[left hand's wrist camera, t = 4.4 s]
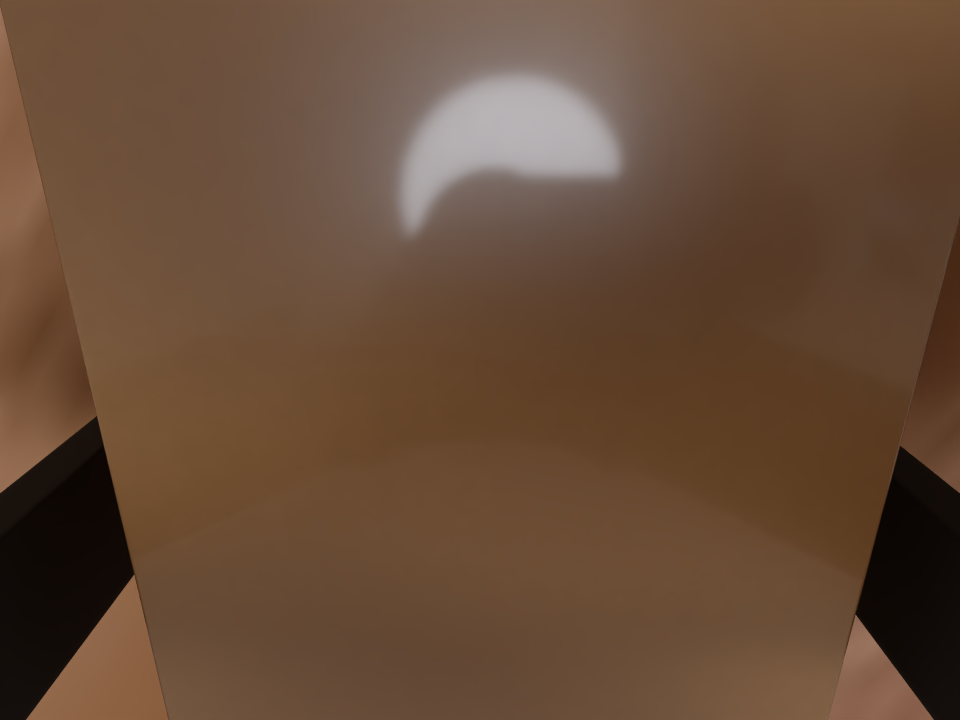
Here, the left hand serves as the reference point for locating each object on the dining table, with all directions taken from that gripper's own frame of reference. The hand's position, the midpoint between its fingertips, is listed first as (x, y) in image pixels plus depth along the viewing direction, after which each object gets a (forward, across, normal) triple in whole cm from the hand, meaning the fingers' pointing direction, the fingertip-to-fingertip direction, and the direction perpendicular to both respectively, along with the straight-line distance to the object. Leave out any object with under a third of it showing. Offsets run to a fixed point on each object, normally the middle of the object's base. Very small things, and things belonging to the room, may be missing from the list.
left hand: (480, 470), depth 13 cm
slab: (+2, 0, -33) cm, 33 cm away
